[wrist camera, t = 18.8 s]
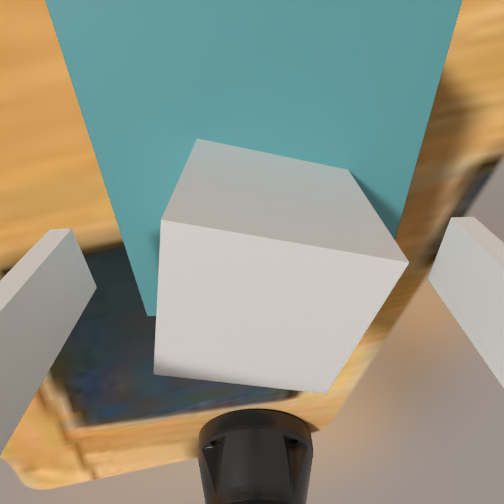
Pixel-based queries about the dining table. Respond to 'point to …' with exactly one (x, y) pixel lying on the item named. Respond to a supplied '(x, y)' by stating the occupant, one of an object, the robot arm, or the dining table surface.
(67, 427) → the dining table surface
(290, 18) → the lid
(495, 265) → the robot arm
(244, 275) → the light grey cube
